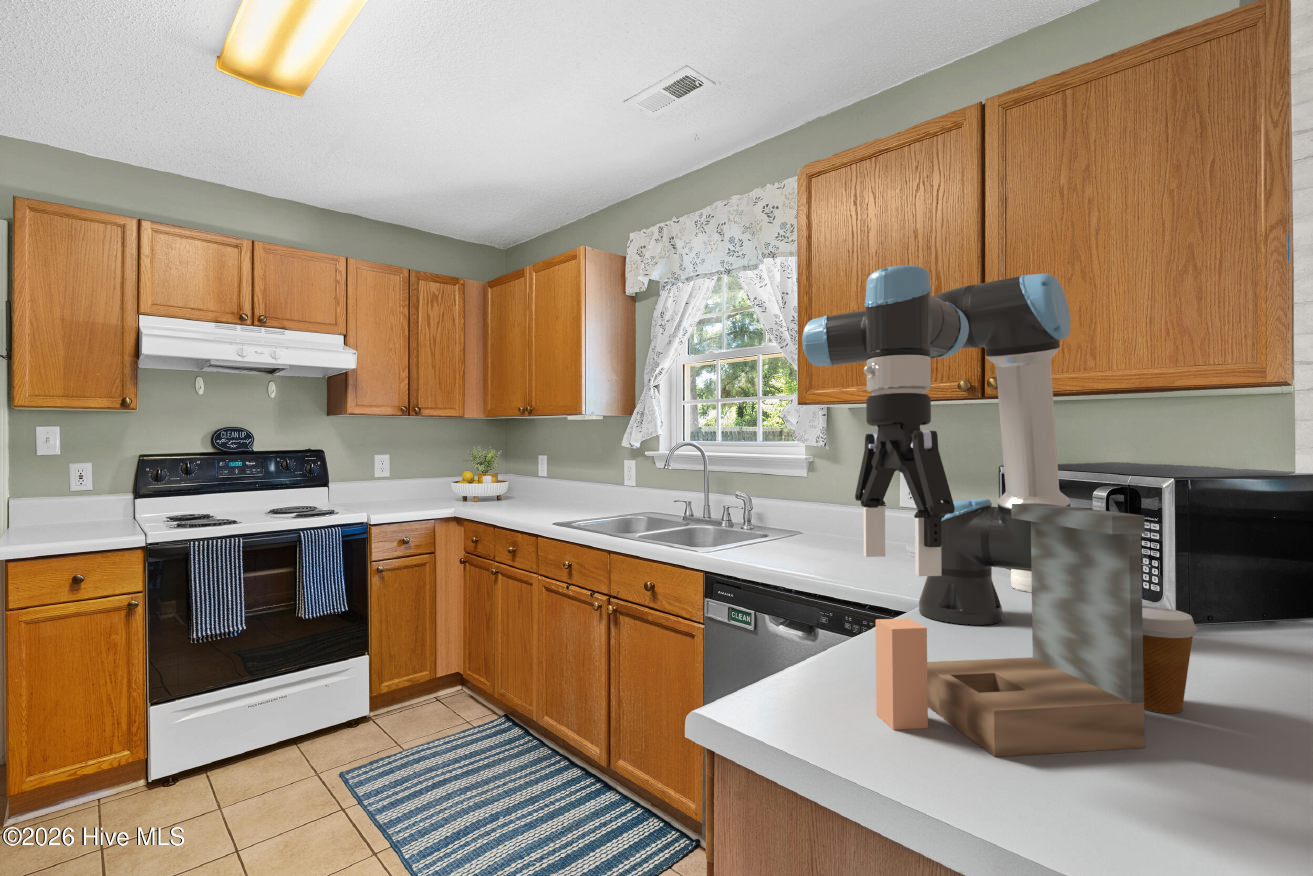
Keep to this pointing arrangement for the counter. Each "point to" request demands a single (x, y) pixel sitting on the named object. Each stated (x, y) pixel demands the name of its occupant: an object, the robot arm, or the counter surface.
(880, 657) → the peg
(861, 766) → the counter surface
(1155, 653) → the disposable coffee cup
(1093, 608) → the socket stand
